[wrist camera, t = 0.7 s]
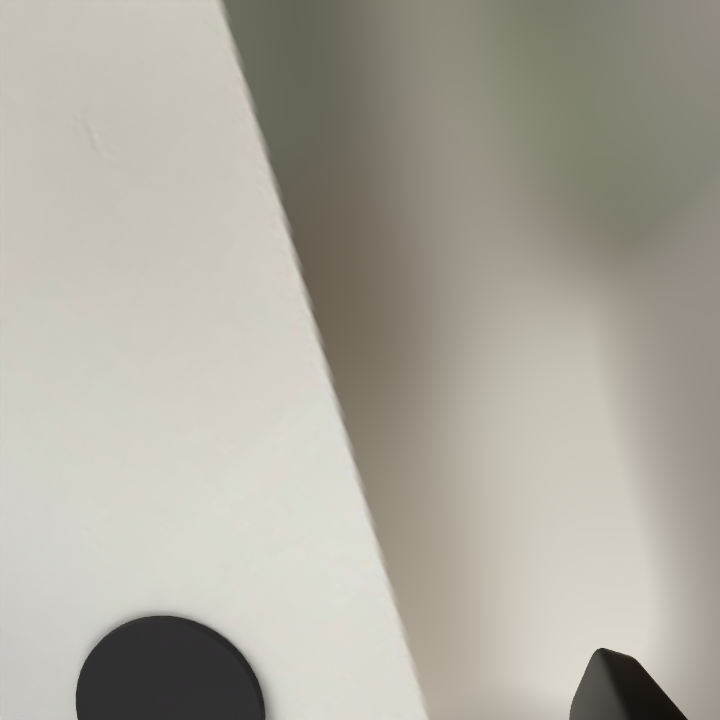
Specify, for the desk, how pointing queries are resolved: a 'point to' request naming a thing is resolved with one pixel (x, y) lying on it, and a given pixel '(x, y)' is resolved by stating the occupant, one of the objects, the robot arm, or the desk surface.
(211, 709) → the coaster
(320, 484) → the desk surface
